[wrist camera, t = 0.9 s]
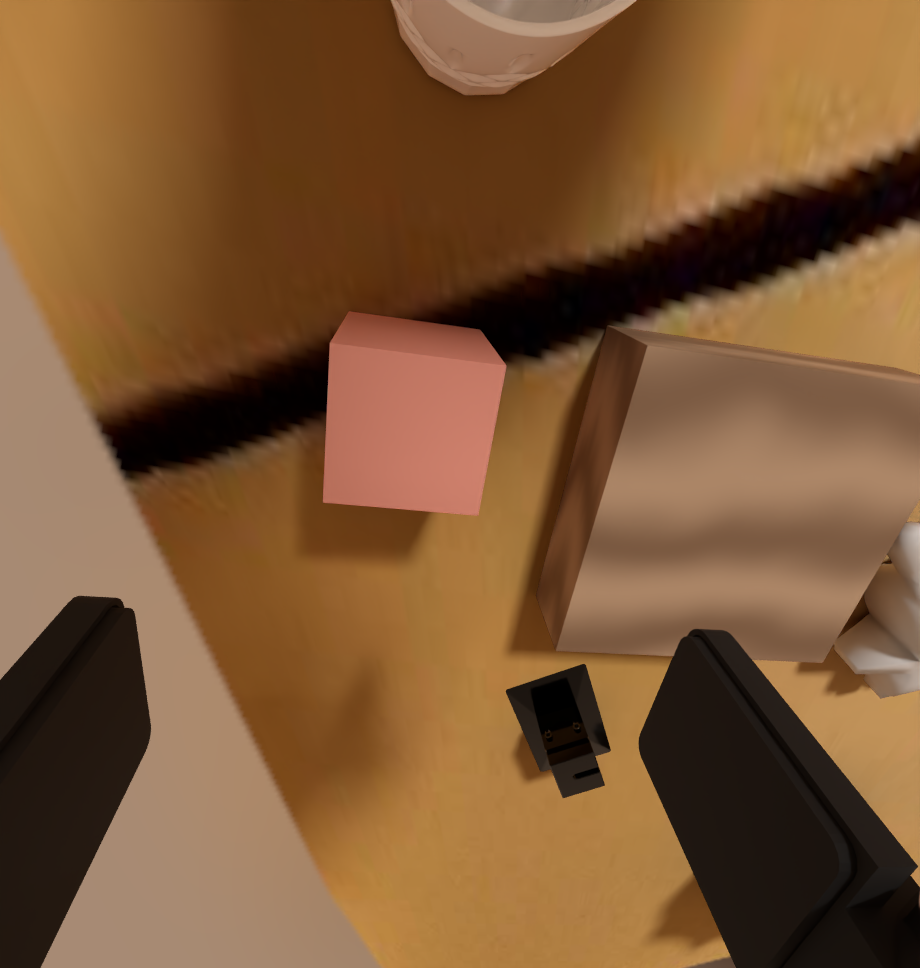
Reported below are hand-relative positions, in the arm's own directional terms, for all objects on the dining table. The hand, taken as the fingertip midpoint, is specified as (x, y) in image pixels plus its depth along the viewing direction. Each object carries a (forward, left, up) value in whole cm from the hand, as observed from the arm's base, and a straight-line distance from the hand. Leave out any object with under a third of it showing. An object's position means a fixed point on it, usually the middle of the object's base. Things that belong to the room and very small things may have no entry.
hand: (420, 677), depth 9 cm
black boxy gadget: (+23, +13, -19) cm, 32 cm away
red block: (0, 0, -18) cm, 18 cm away
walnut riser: (+4, +17, -19) cm, 25 cm away
